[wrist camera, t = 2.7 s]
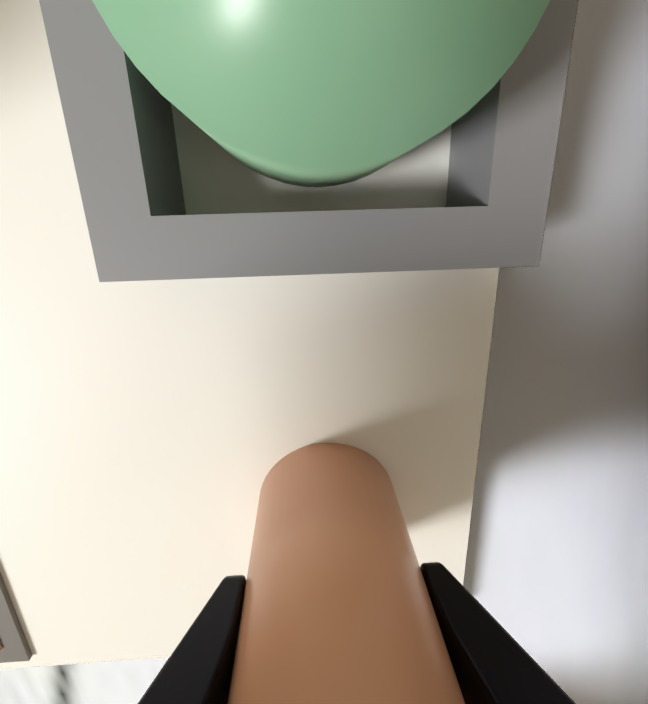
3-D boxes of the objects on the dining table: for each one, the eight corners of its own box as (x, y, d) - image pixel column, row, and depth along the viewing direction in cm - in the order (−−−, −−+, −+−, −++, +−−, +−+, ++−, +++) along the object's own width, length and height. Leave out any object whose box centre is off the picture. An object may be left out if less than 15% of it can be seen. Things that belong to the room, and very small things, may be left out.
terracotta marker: (395, 439, 10) (910, 1674, 2) (391, 549, 11) (671, 1594, 3) (253, 446, 10) (-50, 1853, 1) (264, 557, 11) (138, 1684, 3)
